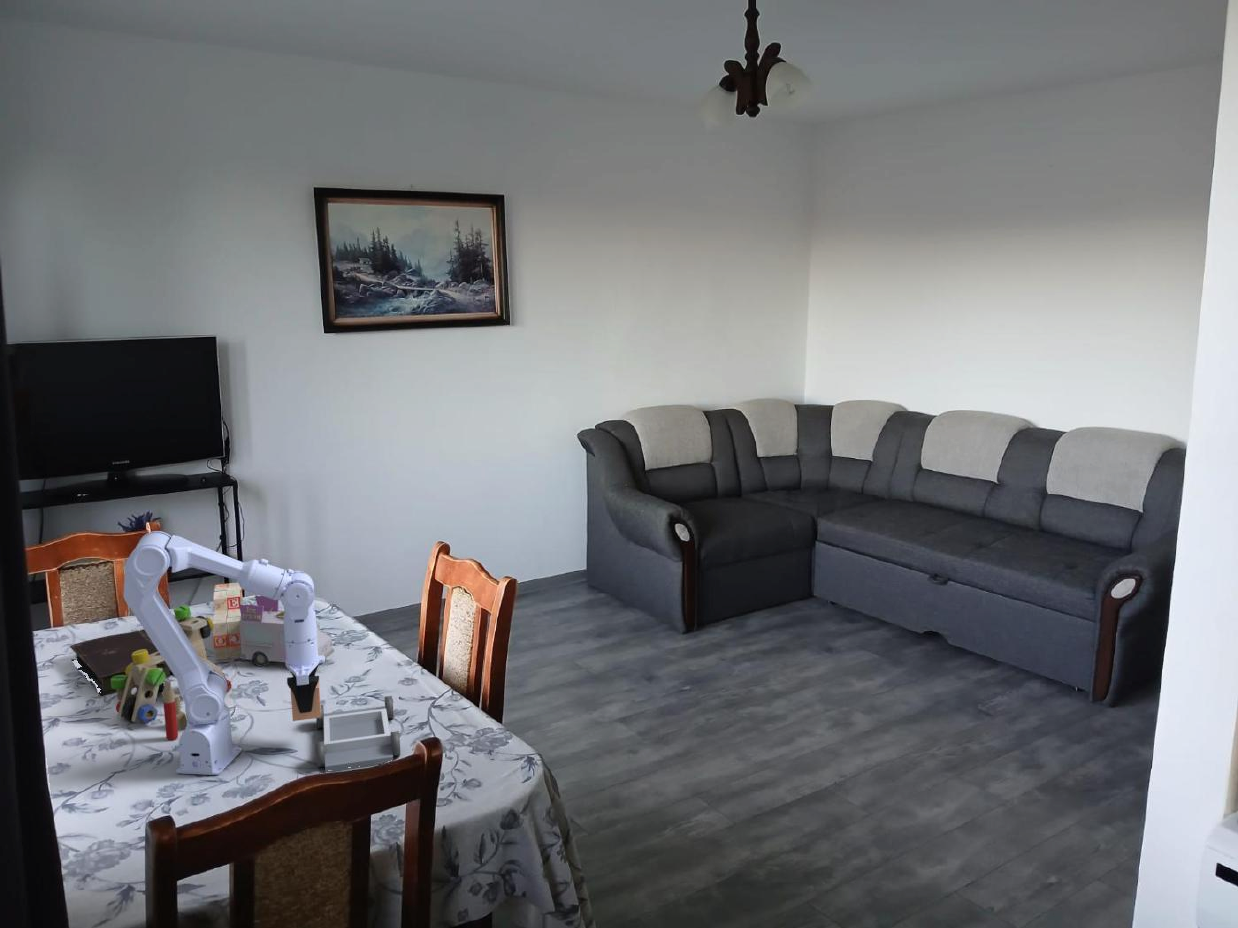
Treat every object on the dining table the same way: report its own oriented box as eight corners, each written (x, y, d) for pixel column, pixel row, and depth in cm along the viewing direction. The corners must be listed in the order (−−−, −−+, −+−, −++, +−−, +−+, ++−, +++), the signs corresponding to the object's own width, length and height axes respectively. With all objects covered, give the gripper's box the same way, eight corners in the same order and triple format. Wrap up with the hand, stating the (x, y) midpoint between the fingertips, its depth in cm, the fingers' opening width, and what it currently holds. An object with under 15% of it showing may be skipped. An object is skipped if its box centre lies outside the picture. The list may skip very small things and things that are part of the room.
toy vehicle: (316, 674, 212) (312, 611, 209) (238, 667, 216) (233, 605, 213) (336, 658, 221) (332, 597, 218) (261, 651, 225) (256, 592, 222)
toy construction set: (243, 727, 188) (235, 629, 184) (116, 753, 177) (105, 650, 173) (226, 677, 211) (218, 589, 207) (112, 699, 200) (102, 606, 196)
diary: (153, 645, 231) (151, 626, 230) (188, 676, 212) (186, 655, 212) (67, 664, 218) (65, 644, 217) (96, 700, 200) (94, 677, 199)
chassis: (401, 761, 174) (400, 739, 173) (317, 773, 170) (315, 751, 169) (391, 710, 194) (391, 690, 194) (317, 720, 190) (315, 699, 189)
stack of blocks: (243, 657, 222) (239, 608, 219) (214, 661, 220) (210, 611, 217) (245, 626, 241) (241, 581, 239) (218, 629, 239) (214, 583, 237)
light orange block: (320, 717, 176) (318, 687, 175) (292, 721, 175) (290, 691, 174) (320, 705, 181) (318, 676, 180) (293, 709, 180) (291, 680, 179)
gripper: (323, 649, 169) (328, 719, 172) (323, 621, 183) (327, 686, 186) (282, 653, 167) (287, 724, 170) (284, 625, 181) (289, 691, 184)
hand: (305, 705), depth 178 cm, fingers closed on light orange block, 5 cm apart
